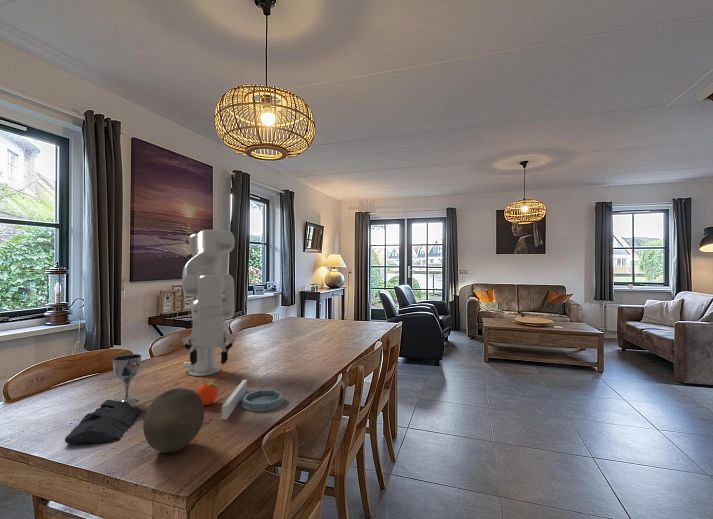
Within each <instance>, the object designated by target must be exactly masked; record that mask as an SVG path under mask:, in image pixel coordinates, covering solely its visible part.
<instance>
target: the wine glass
mask: <svg viewBox="0 0 713 519" xmlns="http://www.w3.org/2000/svg"><path fill="white" fill-rule="evenodd" d="M141 364H142V354H139V353H130V354H123V355H117V356H115V357H113V358H112V367H113V372H114V375H115V377H116V378H117V379H118V380H120V381H121V382H122V383H123V385H124V390H125V391H124V393H125V396H124V398H120V399H121V400H120V399H118V400H117V401H123V402H127V403H128V404H130V405H132V404H131V403H133V404H135V403H134V402H136V401H137V400H138V399H139V398H138V397H135V398H133V397H132V396H131V397H132V398H130V397H129V389H130V385H131V382H132V381H133V379H134V378H135V377H136V376H137V375H138V374H139V372H140V369H141V366H142V365H141ZM137 398H138V399H137ZM137 402H138V401H137ZM137 402H136V403H137Z"/></svg>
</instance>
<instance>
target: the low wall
mask: <svg viewBox="0 0 713 519" xmlns="http://www.w3.org/2000/svg"><path fill="white" fill-rule="evenodd" d="M247 391H248V379H242V380H241V382H240V383H239V384H238V386H237V387H236V388H235V389H234V391H233V392H231V394H230V396H229V397H228V398H227V399H226V401H225V402H224V403H223V405H222V406H221V420H223V421H224V420H226V421H227V420H228V419H229V418H230V415H231V414H232V413H233V411H234V410H235V409H236V407H237V406H238V404H239V402H241V401H242V399H243V397H244V396H245V394H247Z"/></svg>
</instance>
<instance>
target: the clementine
mask: <svg viewBox="0 0 713 519" xmlns="http://www.w3.org/2000/svg"><path fill="white" fill-rule="evenodd" d="M217 387H219V388H220V390H221V389H222V388H221V387H220V385H219V384H217V383H216V382H215V383H213V382H205V383H202V384H201V385H199V386H198V388H196V391H195V392H196V393H197V394H198V395H199V396H200V398H201V400H202V402H203V406H208V405H211V404H213V402H215V401H216V400H217V397H218V395H219V392H218V388H217Z"/></svg>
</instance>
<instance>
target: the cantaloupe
mask: <svg viewBox="0 0 713 519" xmlns="http://www.w3.org/2000/svg"><path fill="white" fill-rule="evenodd" d="M204 406H205V405H203V402H202V400H201V398H200V396H199V395H198V394H197V393H196V391H195V390H192V389H188V388H171V389H169V390H166V391H163V392H162V393H161V394H159V395H158V396H156V397H155V398H154V399H153V400H152V402H151V403H150V405H149V406H148V408H147V411H146V412H145V415H144V419H143V426H142V429H143V434H144V437H145V440H146V442H147V444H148V445H149V446H150V447H151V448H152V449H154V450H156V452H160V453H165V454H167V453H173V452H177V451H180V450H181V449H183V448H185V447H186V446H188V445H189V444H190V442H192V441H193V440H194V439H195V438H196V437H197V435H198V434H199V432H200V431H201V428H202V426H203V422H204V418H205V408H204Z"/></svg>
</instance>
